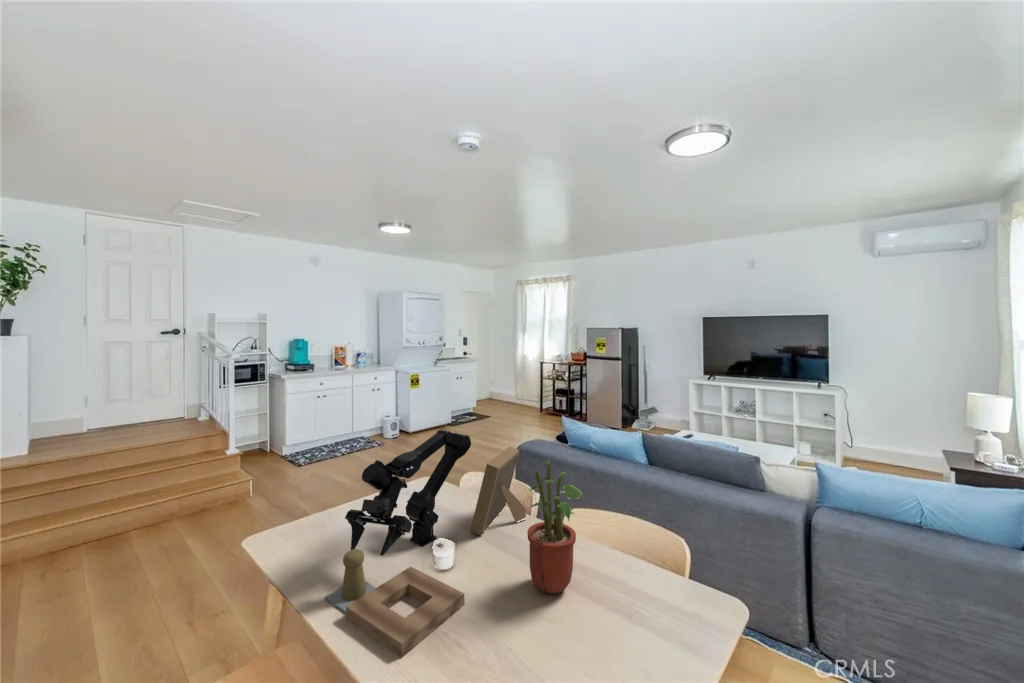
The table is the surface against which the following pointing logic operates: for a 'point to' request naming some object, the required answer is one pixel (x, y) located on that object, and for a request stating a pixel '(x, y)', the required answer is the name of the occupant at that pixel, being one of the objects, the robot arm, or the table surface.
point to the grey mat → (339, 602)
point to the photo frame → (497, 491)
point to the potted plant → (552, 538)
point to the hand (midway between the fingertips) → (366, 553)
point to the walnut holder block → (415, 627)
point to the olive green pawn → (353, 575)
